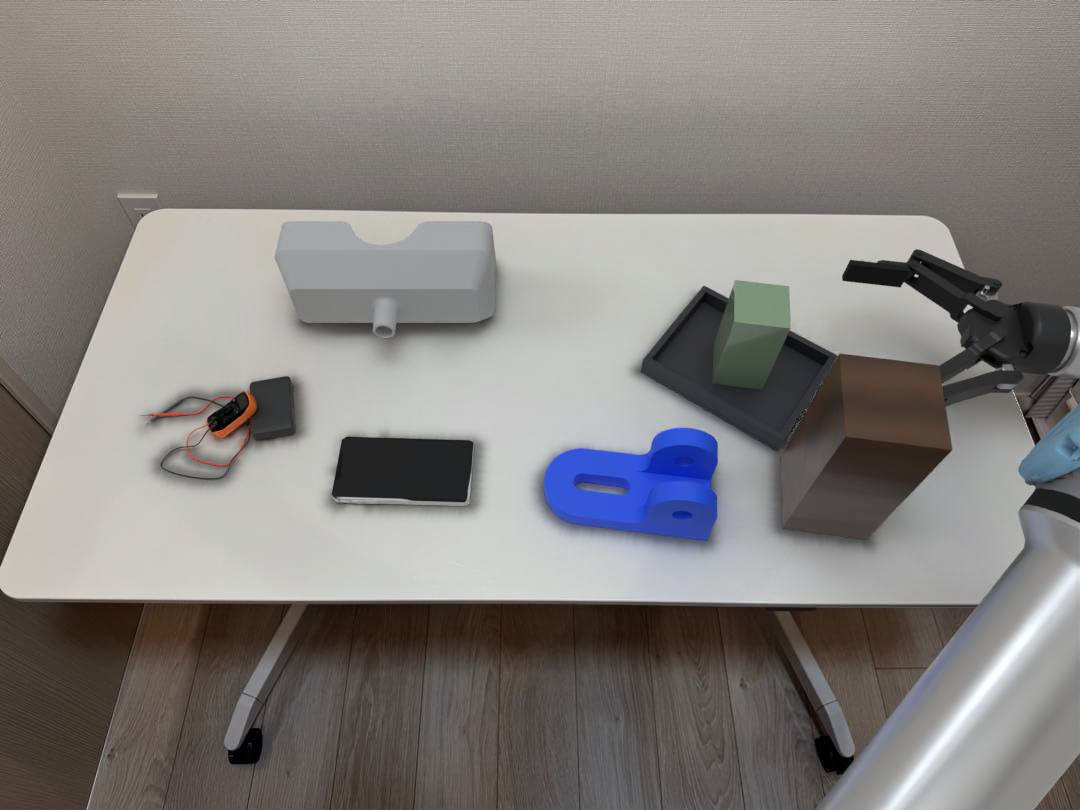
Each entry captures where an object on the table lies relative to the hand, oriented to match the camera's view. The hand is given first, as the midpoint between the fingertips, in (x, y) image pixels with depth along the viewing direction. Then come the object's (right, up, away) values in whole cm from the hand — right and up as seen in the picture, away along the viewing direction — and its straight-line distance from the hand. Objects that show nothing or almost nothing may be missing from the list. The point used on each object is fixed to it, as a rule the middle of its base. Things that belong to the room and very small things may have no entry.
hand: (850, 316), depth 83 cm
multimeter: (-71, -13, +6) cm, 73 cm away
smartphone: (-49, -17, +3) cm, 52 cm away
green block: (-10, -5, +11) cm, 15 cm away
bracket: (-24, -20, +2) cm, 31 cm away
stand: (-2, -20, +2) cm, 20 cm away
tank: (-52, +2, +16) cm, 54 cm away
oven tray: (-10, -5, +11) cm, 16 cm away
